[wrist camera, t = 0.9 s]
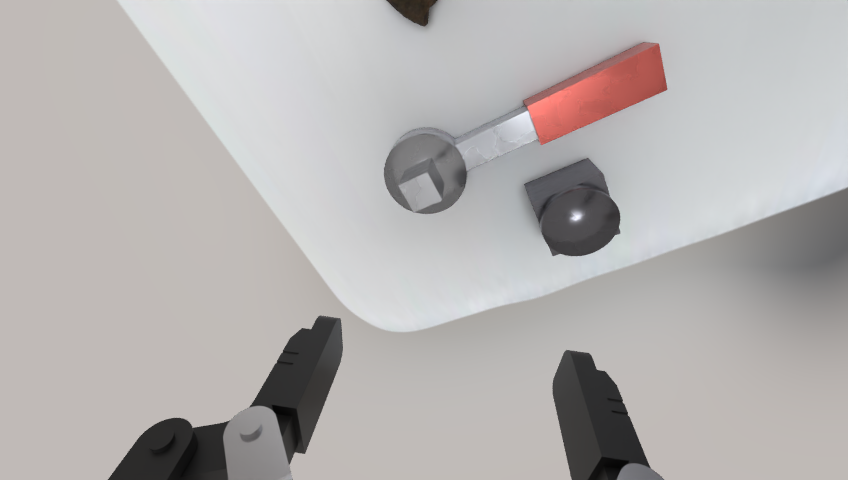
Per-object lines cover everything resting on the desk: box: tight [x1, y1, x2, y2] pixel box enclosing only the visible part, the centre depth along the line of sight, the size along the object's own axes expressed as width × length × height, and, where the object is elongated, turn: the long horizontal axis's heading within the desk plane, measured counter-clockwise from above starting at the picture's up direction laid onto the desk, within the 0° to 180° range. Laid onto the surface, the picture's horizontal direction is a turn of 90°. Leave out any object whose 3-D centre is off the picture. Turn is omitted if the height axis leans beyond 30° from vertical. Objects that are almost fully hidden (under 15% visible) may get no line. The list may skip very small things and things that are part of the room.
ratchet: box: [384, 42, 667, 214], centre depth 28 cm, size 22×7×6 cm, turn 117°
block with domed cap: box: [524, 158, 620, 256], centre depth 30 cm, size 6×6×5 cm
